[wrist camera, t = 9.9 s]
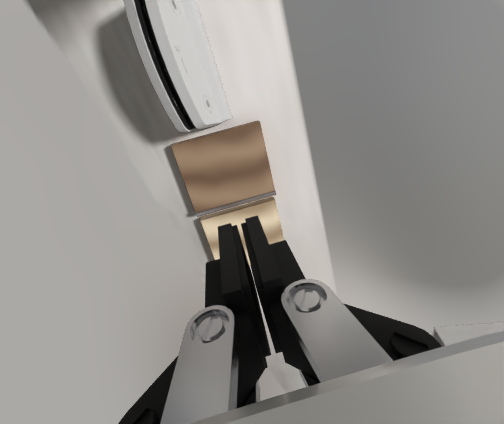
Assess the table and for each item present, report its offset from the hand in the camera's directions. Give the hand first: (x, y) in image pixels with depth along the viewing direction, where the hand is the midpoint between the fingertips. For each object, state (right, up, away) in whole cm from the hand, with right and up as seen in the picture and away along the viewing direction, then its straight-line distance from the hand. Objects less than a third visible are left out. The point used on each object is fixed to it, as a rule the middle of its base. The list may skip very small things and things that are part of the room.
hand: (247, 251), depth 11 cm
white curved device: (-9, +21, +24) cm, 33 cm away
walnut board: (-4, +8, +30) cm, 32 cm away
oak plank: (-1, -2, +35) cm, 35 cm away
